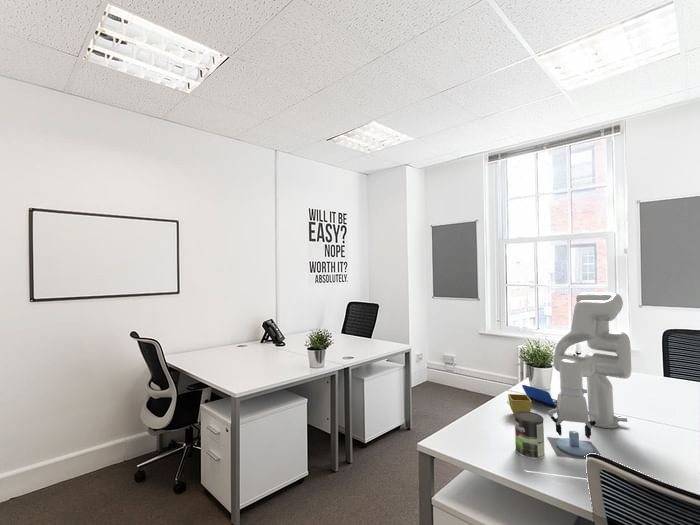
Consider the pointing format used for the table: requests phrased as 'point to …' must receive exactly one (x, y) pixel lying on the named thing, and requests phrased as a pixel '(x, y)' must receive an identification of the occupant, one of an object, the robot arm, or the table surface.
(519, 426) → the coffee can
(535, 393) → the handheld game console
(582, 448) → the lid
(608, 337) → the robot arm
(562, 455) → the mat
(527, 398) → the flower pot
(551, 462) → the table surface
